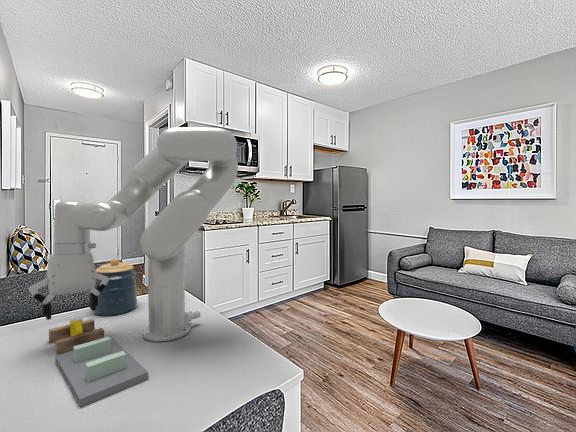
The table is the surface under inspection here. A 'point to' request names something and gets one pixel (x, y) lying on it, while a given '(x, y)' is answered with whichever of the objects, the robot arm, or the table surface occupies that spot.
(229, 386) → the table surface
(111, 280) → the canister
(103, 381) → the dock
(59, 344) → the holder
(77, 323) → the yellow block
